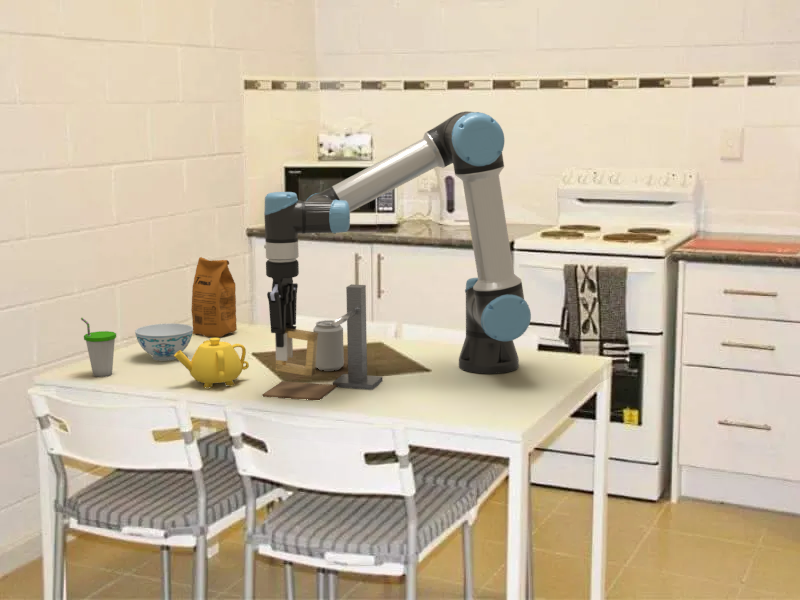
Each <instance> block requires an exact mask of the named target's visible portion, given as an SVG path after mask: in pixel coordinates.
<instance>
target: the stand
mask: <svg viewBox="0 0 800 600" xmlns="http://www.w3.org/2000/svg"><path fill="white" fill-rule="evenodd" d="M366 286H367V285H366V284H353V283H352V284H350V285H347V286H346V287H345V288H346V313H345V314H343V315H342V316H340V317H339V318H337V319H335V321H334V322H332V324H331V325H332V327H333V328H336V327H337V326H339V325H342V324H344V323H346V331H347V332H346V334H347V338H346V339H347V340H346V341H347V373H343V374H341V375H340V376H339V377H338V378H335V380H334V381H332V385H337V387H336V388H339V389H355V390H369V391H371V390H372V391H373V390H374V389H376V388H377V387H378V386H379V385H380V384H382V382H383V379H384V378H383V375H382V376H379V375H368V353H367V352H368V348H367V346H368V345H367V343H368V339H367V293H366V292H367V291H366V290H367V288H366Z"/></svg>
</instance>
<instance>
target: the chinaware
mask: <svg viewBox="0 0 800 600" xmlns="http://www.w3.org/2000/svg"><path fill="white" fill-rule="evenodd" d="M134 333H135V337H136V340H137V342H138V344H139V345H140V347H141V349H143V351H145V352H146V353H147V354H148V355H150V356H152V359H153V360H154V361H158V362H160V361H161V362H163V361H164V362H166V361H173V360H178V359H177V358H176V357H175V356H174V355H175V354H176V353H177V352H178V351H179V350H181V351H182V352H183V351H184V350H185V349H186V348H187V347H188V346H189V344H190V342H191V339H192V336H193V325H189V324H184V323H175V322H174V323H167V322H166V323H155V324H148V325H144V326H140V327H138V328H136V329H135V330H134Z"/></svg>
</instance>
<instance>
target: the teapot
mask: <svg viewBox="0 0 800 600" xmlns="http://www.w3.org/2000/svg"><path fill="white" fill-rule="evenodd" d="M236 348H241V358H240V356H239V354H238V352H237V351H236ZM246 354H247V349H246V347H245V346H244V345H243V344H241V343H234V344H231V343H229V342H226V341H221V337H211V338H209V340H204V341H203V342H202V343H201V344H200V345H198V346H197V348H196V350H195V352H194V354H193V356H192V358H191V359H189V358H188V356H186V355H185V353H184V352H183V351H181V350H179V351H178V352H177V353H176V354H175V355H174V356H175V357H176V358H177V359H176V360H178V362H179V363H181V364H182V366H183V367H185V368H186V369H187V370H188V372H189V374H190V376H191V377H192V378H193V379H194V380H195V381H196V382H198V383H200V382H201V384H203V383H204V384H203V387H204V388H203V389H210V388H209V387H211V388H213V384H218V383H219V384H220V383H224V384H225V386H226V385H229V386H228V387H232V386H231V385H233V386H235V385H234V384H235V383H234V381H235V380H237V379H238V378H239V376H240V375H241V374H242V371H243V370H244V371H245V370H247V369H248V368H249V366H250V365H249V362H248V360H245V358H246V356H247V355H246ZM244 364H245V365H244ZM205 387H206V388H205Z"/></svg>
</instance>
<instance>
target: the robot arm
mask: <svg viewBox="0 0 800 600" xmlns="http://www.w3.org/2000/svg"><path fill="white" fill-rule="evenodd" d="M504 147H505V134H504V131H503V128H502V126H501V125H500V124H499V122H498V121H497V120H496V119H495V118H493V117H492V116H490V115H489V114H486V113H485V112H479V111H461V112H459V113H456V114H454V115H451V116H450V117H449V118H447V119H446V120H444V121H442V122H440V124H438V125H436V126H435V127H433V128H431V129H429V130H428V131H426V132H424V135H423V137H422V139H420V140H418V141H416V142H413V143H411V144H410V145H408V146H407V147H405V148H403V149H401V150H399V151H397V152H394V153H393V154H391V155H389V156H387V157H386V158H383V159H382V160H379V161H377V162H376V163H374V164H372V165H371V166H370V165H369V167H366V168H364V169H363V170H361V171H358V172H357V173H355V174H353V175H351V176H349V177H347V178H345V179H343V180H342V181H340V182H338V183H335V184H334V185H332V186H330V187H329V188H327V189H325V190H323V191H320V192H317V193H314V194H311V195H310V196H309V197H308V198H307V199H306V200H299V199H298V195H297V193H296V192H292V191H273V192H269V193H267V194H266V195H265V197H264V216H263V217H264V237H265V239H264V240H265V244H264V245H263V249H265V258H266V259H267V260H266V261H265V276H266V277H268V278H271V279H272V283H271V284H272V285H271V291H267V294H266V296H267V299H268V310H269V312H268V313H269V324H270V333H271V334H274V335H275V338H274V341H275V361H276V360H281V361H286V362H288V361H289V358H294V356H293V355H294V352H293V350H294V349H293V347H294V346H293V338H288V341H287V333H285V330H286V328H291V329H297V302H298V301H297V298H298V297H297V295H298V294H297V293H298V287H299V284H298V283H297V282H296V283H294V279H293V278H296V277H298V276H299V273H300V271H299V270H300V269H299V268H300V267H299V260H298V258H299V257H300V256H299V234H302V235H303V234H337V233H347V232H348V231H349V230H350V226H351V225H350V224H351V212H353V211H355V210H357V209H358V208H361V207H362V206H364V205H367V204H368V203H370V202H373V201H374V200H376V199H378V198H379V197H381V196H383V195H386V194H387V193H389V192H391V191H393V190H395V189H397V188H399V187H401V186H402V185H404V184H406V183H409V182H410V181H412V180H414V179H416V178H418V177H420V176H421V175H424V174H426V173H427V172H429V171H431V170H433V169H435V168H437V167H439V168H442V169H444V168H447V166H450V165H451V164H452V165H453V171H454V175H455V176H456V177H457V178H459V179H460V180H461V182H462V186H463V192H464V198H465V204H466V212H467V218H468V223H469V230H470V235H471V242H472V243H471V244H472V249H473V254H474V260H475V261H474V262H475V266H476V273H477V277H471V278H468V279H467V280H466V282H465V289H464V292H465V338H464V341H463V344H462V347H461V350H460V353H459V357H458V367H459V368H460V369H461V370H463V371H465V372H470V373H476V374H489V375H490V374H504V373H509V372H514V371H516V370H518V368H519V367H520V366H519V361H520V359H519V355H518V351H517V349H516V346H515V343H514V340H517V339H518V338H520V337H521V336H522V335H524V334H525V332H526V331H527V330H528V328H529V326H530V324H531V319H532V314H531V309H530V307H529V304H528V303H527V300H525V294H524V289H523V283H522V279H521V278H520V277H518V276H517V275H516V274H515V272H514V265H513V259H512V253H511V247H510V239H509V232H508V227H507V219H506V214H505V213H506V212H505V206H504V201H503V193H502V187H501V181H500V173H501V172H502V171H503V169H504V168H505V162H504V156H503V151H504Z"/></svg>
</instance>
